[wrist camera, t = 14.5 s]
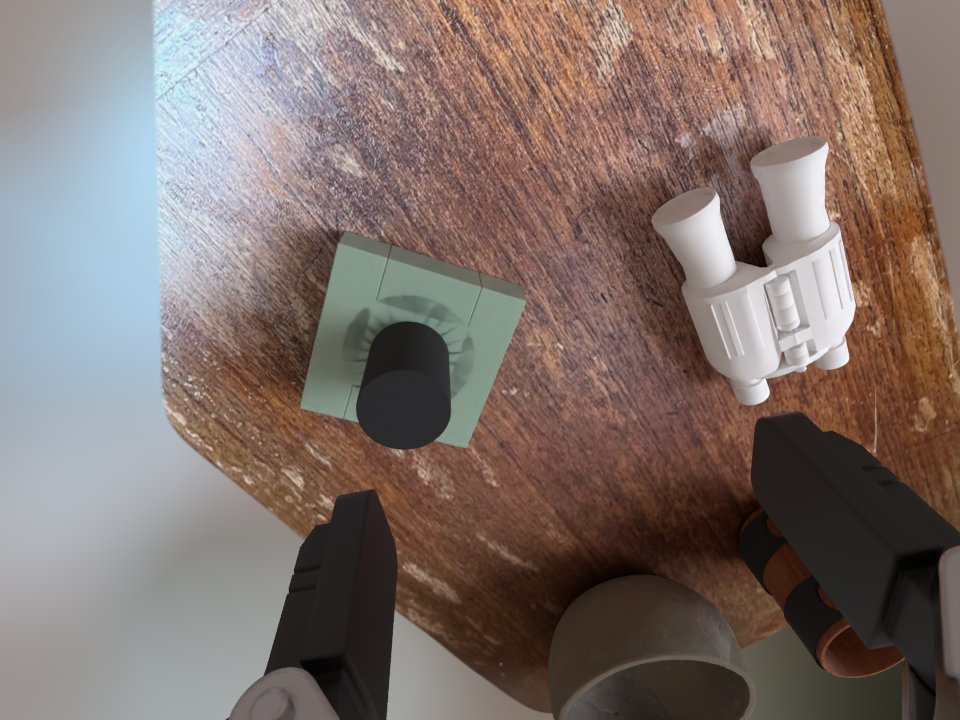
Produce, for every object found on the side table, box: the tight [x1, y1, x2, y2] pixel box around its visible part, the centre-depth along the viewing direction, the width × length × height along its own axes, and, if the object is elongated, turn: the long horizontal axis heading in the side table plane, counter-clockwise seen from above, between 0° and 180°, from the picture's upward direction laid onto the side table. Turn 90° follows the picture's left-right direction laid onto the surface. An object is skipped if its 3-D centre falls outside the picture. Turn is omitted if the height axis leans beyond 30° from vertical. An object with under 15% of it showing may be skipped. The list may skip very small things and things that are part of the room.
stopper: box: [356, 321, 451, 450], centre depth 34 cm, size 5×5×9 cm
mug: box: [739, 506, 905, 678], centre depth 43 cm, size 9×12×12 cm
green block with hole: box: [300, 231, 526, 448], centre depth 37 cm, size 12×12×3 cm
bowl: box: [548, 575, 757, 720], centre depth 49 cm, size 17×18×10 cm
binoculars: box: [651, 136, 856, 405], centre depth 36 cm, size 10×16×5 cm, turn 28°
